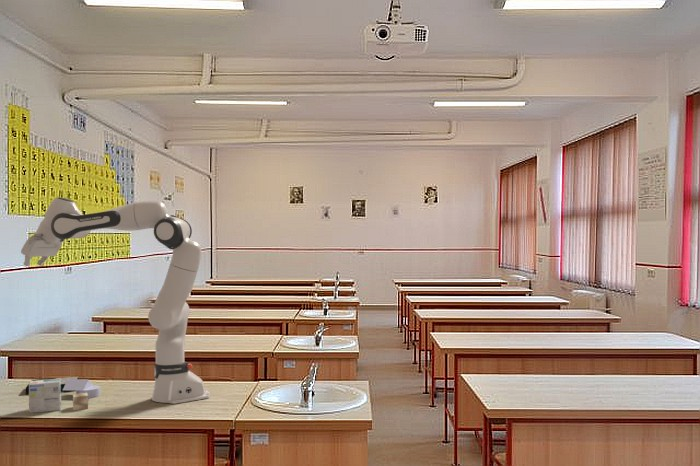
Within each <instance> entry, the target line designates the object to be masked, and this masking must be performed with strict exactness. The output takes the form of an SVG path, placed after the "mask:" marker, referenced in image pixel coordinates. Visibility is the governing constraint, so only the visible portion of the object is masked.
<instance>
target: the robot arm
mask: <svg viewBox="0 0 700 466" xmlns="http://www.w3.org/2000/svg"><path fill="white" fill-rule="evenodd" d="M100 229H104V230H105V229H107V230H108V229H110V230H118V231H129V232H130V231H140V230H141V231H142V230H147V229H153V236H154V238H155V239H156V240H157V241H158V243H160V244H161V245H163V246H165V247H166V248H168V249H169V250H172V257H171V260H170V264H169V266H168V269H167V272H166V275H165V279H164V282H163V284H162V287H161V289H160V290H159V293H158V295H157V297H156V299H155V301H154V303H153V305H152V307H151V309H150V310H149V311H148V314H147V317H148V323H149V324H150V325H151V327H152V328H154V329H156V330H158V335H157V338H156V342H155V363H154V368H153V370H154V371H153V372H154V387H153V393H152V397H151V400H152V401H153V402H157V403H161V404H162V403H165V404H181V403H187V402H193V401H198V400H205V399H209V398H210V397H211V392H210V391H209V390H207V389H205V384H204V382H203V379H202V378H201V377H199V376H198V375H196V374H195V373H193V372H192V371H191V369H193V364H192V363H189V362H187V361H185V340H186V334H187V327H188V320H189V315H190V313H191V312H190V311H191V310H190V305H189V304H188V303H187V299H188V297H189V295H190V293H191V292H192V291H193V288H194V284H195V282H196V281H195V280H196V278H197V274H198V272H199V267H200V263H201V259H202V246H201V245H200V243H198V242H197V241H195V240H192V239H191V237H192V233H193V229H192V226H191V225H190V223H189V222H188V221H187V220H186V219H184V218H182V217H178V216H176V215H173V214H172V215H170V214H169V211H168V208H167V206H166V204H165V203H164V202H162V201H159V200H145V201H135V202H131V203H126V204H123V205H121V206H117V207H114V208H111V209H107V210H104V211H101V212H93V213H86V214H83V213H82V212H81V210H80V209H79V208H78V207H77V203H76V202H75V201H74V200H72V199H69V198H67V197H66V198H65V197H63V196H62V197H59V196H58V197H55V198H54V199H53V200H51V202H50V204H49V206H48V208H47V209H46V211H45V213H44V218H43V219H42V220H41V222H40V223H39V225H38V227H37V230H36V231H35V233H34V234H33V235H31V236H29V237H28V238H27V240H26V241H25V243H24V244H23V246H22V248H21V250H20V252H21V254H22V255H23V256H24V261H23V262H22V263H23V266H24V267H29V266H30V265H31V260H32V258H33V257H34V258H35V257H36V258H37V257H38V258H39V257H41V258H40V259H38V261H37V262H36V265H38V266H43V265H44V263H45V262H46V261H47V260H48V259H49V257H55V256H56V255H57V254H58V252H60V249H61V247H62V245H63V243H65V241H66V240H68V239H84V238H86V237H88V235H89V234H90V233H91V231H95V230H100Z"/></svg>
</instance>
